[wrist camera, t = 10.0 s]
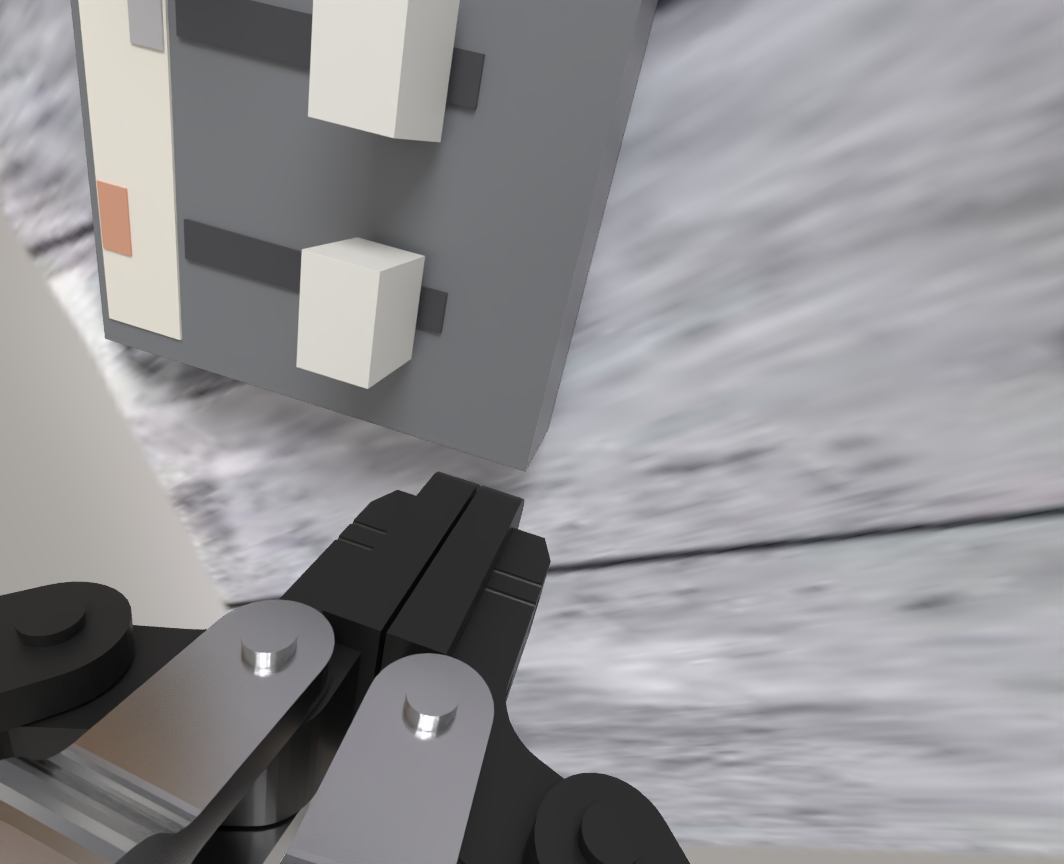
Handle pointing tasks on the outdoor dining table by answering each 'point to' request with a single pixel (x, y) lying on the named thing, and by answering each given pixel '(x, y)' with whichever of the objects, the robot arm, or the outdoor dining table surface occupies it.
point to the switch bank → (357, 199)
